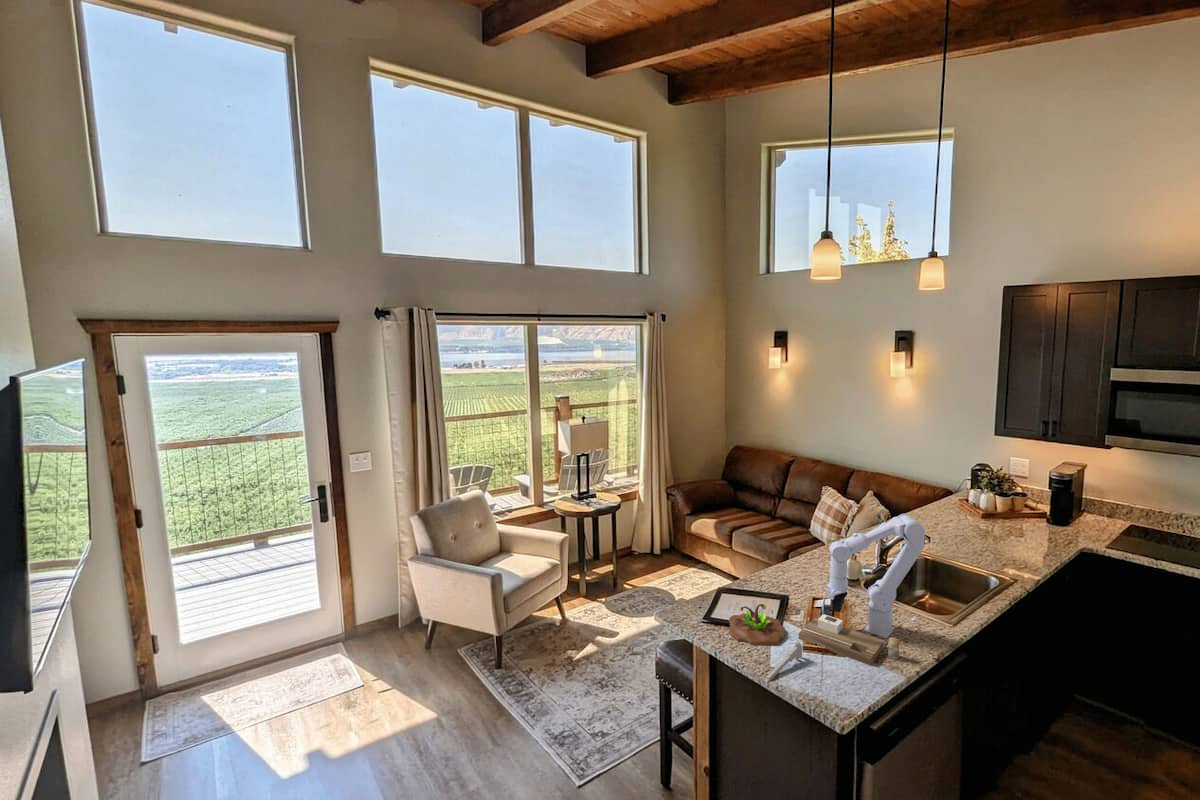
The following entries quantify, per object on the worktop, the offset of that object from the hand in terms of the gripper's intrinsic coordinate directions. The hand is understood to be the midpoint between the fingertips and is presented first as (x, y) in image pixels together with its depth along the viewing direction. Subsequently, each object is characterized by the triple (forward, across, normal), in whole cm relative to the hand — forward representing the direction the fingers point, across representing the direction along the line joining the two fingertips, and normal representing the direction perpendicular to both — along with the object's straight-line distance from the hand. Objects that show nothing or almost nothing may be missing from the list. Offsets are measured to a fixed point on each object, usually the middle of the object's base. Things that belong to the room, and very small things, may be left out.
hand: (837, 610), depth 207 cm
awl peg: (+6, +7, +21) cm, 23 cm away
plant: (+7, +22, -20) cm, 31 cm away
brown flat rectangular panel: (+6, +10, +5) cm, 13 cm away
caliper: (+8, +38, -3) cm, 39 cm away
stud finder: (+4, +6, 0) cm, 8 cm away
